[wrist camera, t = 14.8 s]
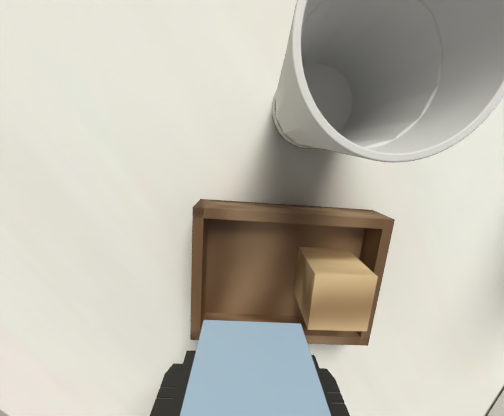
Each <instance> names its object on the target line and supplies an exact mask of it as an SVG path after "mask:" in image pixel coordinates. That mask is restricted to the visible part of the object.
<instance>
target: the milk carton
mask: <svg viewBox="0 0 504 416" xmlns="http://www.w3.org/2000/svg"><path fill="white" fill-rule="evenodd" d="M487 416H504V390H503V392H502V393H501V395H500V396H499V398H498V400H497V401H496V403H495V404H494V406H493V407H492V409H491V411H490V412H489V414H488V415H487Z"/></svg>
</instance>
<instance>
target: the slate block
mask: <svg viewBox="0 0 504 416" xmlns="http://www.w3.org/2000/svg"><path fill="white" fill-rule="evenodd" d="M180 416H331V414H330V411H329V408H328V405H327V402H326V399H325V395H324V392H323V389H322V386H321V383H320V380H319V377H318V374H317V371H316V368H315V365H314V362H313V359H312V356H311V353H310V350H309V347H308V344H307V341H306V338H305V335H304V332H303V329H302V326H301V324H298V323H272V322H247V321H221V320H204V321H203V325H202V329H201V333H200V337H199V341H198V345H197V349H196V353H195V357H194V361H193V365H192V369H191V373H190V377H189V381H188V385H187V389H186V393H185V397H184V401H183V405H182V409H181V413H180Z"/></svg>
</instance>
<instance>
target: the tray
mask: <svg viewBox="0 0 504 416" xmlns="http://www.w3.org/2000/svg"><path fill="white" fill-rule="evenodd" d="M393 225H394V219H392V218H389V217H387V216H385V215H382V214H380V213H378V212H375V211H373V210H363V209H347V208H332V207H316V206H300V205H285V204H269V203H253V202H237V201H222V200H206V199H200V200H199V201H198V202H197V204H196V205H195V206H194V207H193V230H192V286H191V340H199V337H200V333H201V329H202V325H203V321H204V320H221V321H247V322H272V323H298V324H301V326H302V329H303V332H304V335H305V338H306V341H307V343H310V344H340V345H368V343H369V338H370V333H371V329H372V324H373V319H374V314H375V310H376V305H377V300H378V296H379V291H380V286H381V282H382V277H383V272H384V267H385V263H386V258H387V253H388V249H389V244H390V239H391V234H392V230H393ZM299 247H316V248H337V249H348V250H349V251H350V252H351V253H352V254H353V255H354V256H356V257H357V258H358V259H359V260H360V261H361V262H362V263H363V264H364V265H366V266H367V267H368V268H369V269H370V270H371V271H372V272H373V273H374V274H375V275H377V276H378V279H377V284H376V289H375V294H374V299H373V304H372V309H371V314H370V319H369V324H368V329H367V331H335V330H308V329H307V326H306V324H305V321H304V318H303V316H302V313H301V310H300V308H299V305H298V302H297V299H296V297H295V294H294V283H295V274H296V265H297V257H298V248H299Z"/></svg>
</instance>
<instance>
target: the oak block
mask: <svg viewBox="0 0 504 416" xmlns="http://www.w3.org/2000/svg"><path fill="white" fill-rule="evenodd" d="M377 279H378V276H377V275H375V274H374V273H373V272H372V271H371V270H370V269H369V268H368V267H367V266H366V265H364V264H363V263H362V262H361V261H360V260H359V259H358V258H357V257H356V256H354V255H353V254H352V253H351V252H350V251H349V250H348V249H337V248H316V247H299V248H298V257H297V265H296V274H295V283H294V294H295V297H296V299H297V302H298V305H299V308H300V310H301V313H302V316H303V318H304V321H305V324H306V326H307V329H308V330H335V331H367V329H368V324H369V319H370V314H371V309H372V304H373V299H374V294H375V289H376V284H377Z"/></svg>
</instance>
